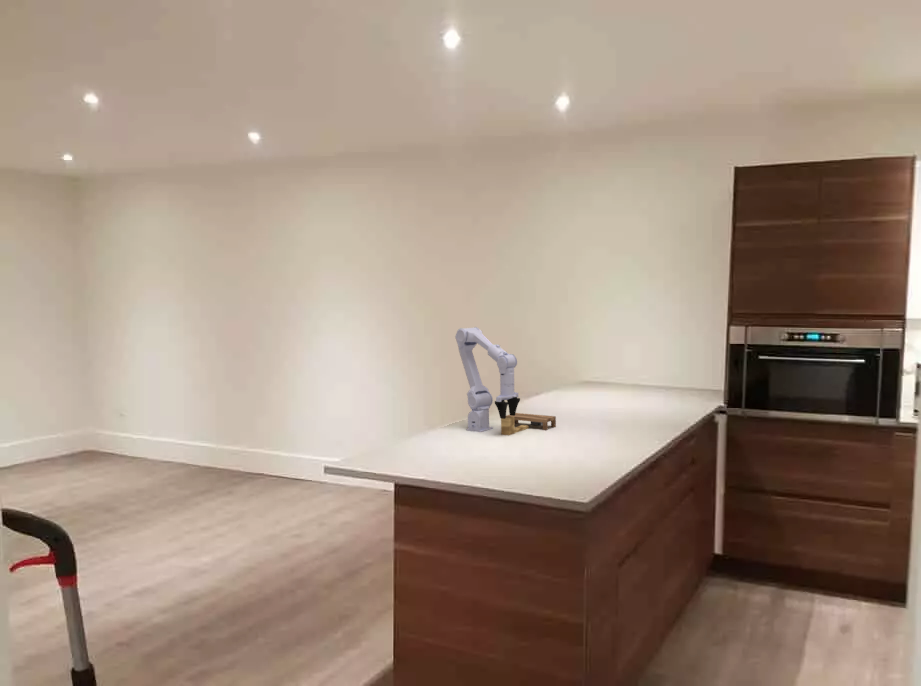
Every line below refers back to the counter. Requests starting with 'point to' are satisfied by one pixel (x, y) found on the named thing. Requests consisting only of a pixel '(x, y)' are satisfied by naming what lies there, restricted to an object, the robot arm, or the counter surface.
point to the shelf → (535, 419)
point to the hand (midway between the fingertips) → (507, 416)
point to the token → (536, 423)
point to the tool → (510, 426)
